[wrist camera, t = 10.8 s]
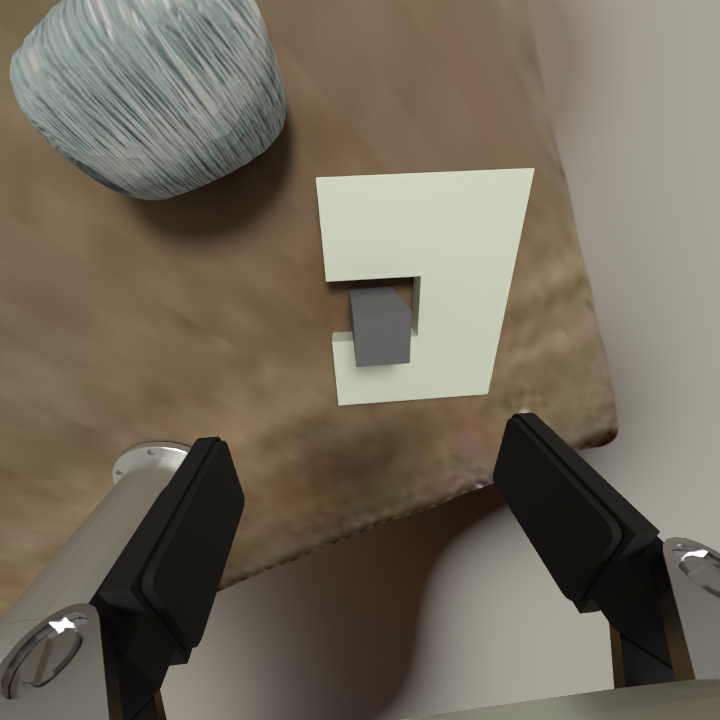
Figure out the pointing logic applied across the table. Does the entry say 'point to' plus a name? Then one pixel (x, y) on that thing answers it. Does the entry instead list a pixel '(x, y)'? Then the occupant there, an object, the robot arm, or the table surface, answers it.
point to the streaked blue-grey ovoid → (152, 90)
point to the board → (427, 272)
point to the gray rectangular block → (380, 326)
